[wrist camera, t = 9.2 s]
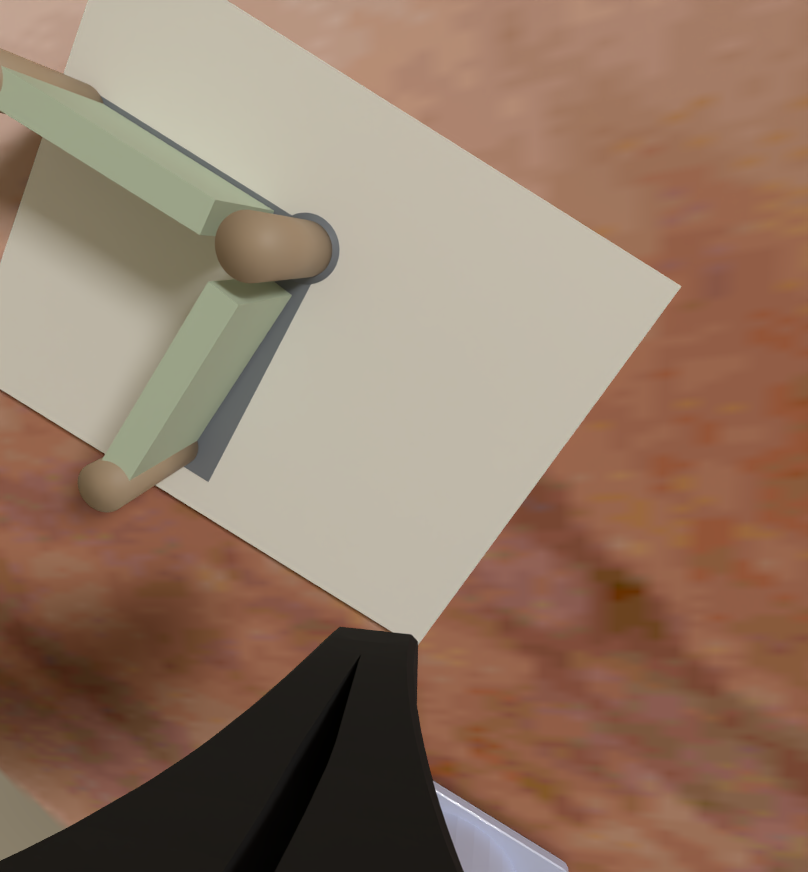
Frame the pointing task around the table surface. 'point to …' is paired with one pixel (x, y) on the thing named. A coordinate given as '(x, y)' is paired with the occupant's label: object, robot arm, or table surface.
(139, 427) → the fence panel
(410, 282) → the card
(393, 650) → the robot arm
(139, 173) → the fence fixed
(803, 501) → the table surface
